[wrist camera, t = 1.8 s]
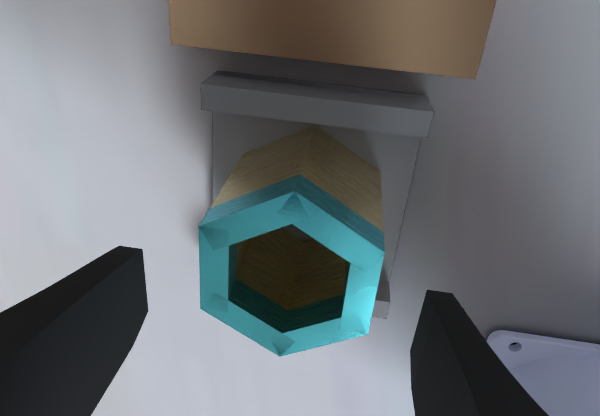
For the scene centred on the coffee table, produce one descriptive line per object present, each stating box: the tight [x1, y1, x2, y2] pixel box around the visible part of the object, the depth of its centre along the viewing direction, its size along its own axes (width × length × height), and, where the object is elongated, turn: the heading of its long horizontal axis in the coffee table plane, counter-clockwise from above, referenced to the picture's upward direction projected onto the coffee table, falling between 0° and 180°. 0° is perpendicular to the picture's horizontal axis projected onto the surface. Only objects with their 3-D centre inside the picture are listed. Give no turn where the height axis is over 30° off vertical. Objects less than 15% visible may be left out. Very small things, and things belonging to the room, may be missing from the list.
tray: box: [201, 71, 434, 319], centre depth 17 cm, size 7×8×2 cm
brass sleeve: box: [199, 125, 385, 356], centre depth 15 cm, size 5×6×5 cm
